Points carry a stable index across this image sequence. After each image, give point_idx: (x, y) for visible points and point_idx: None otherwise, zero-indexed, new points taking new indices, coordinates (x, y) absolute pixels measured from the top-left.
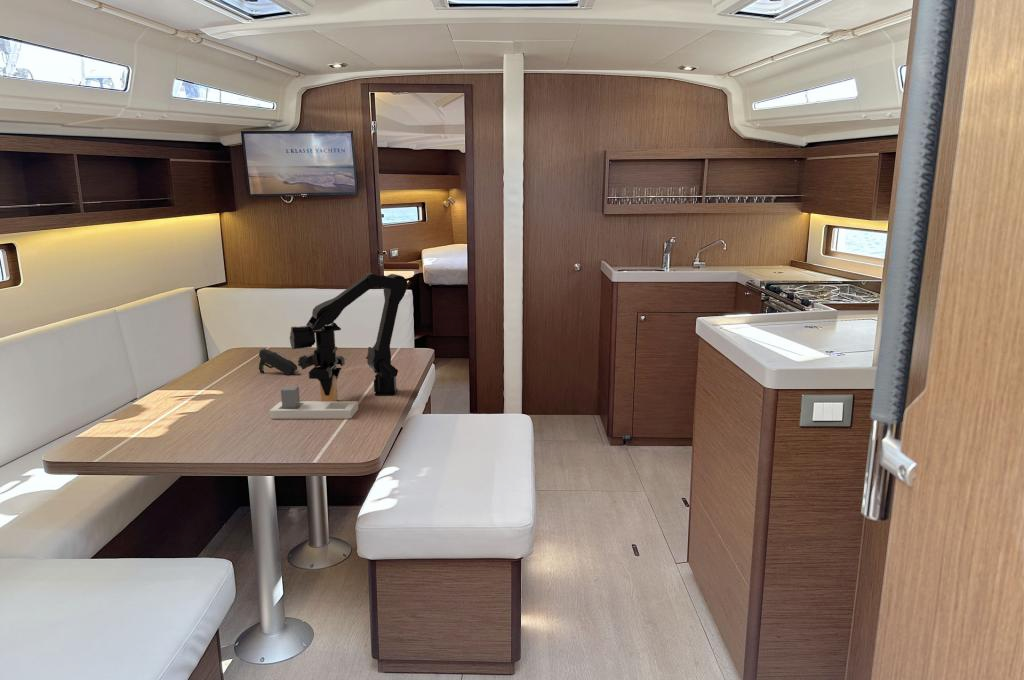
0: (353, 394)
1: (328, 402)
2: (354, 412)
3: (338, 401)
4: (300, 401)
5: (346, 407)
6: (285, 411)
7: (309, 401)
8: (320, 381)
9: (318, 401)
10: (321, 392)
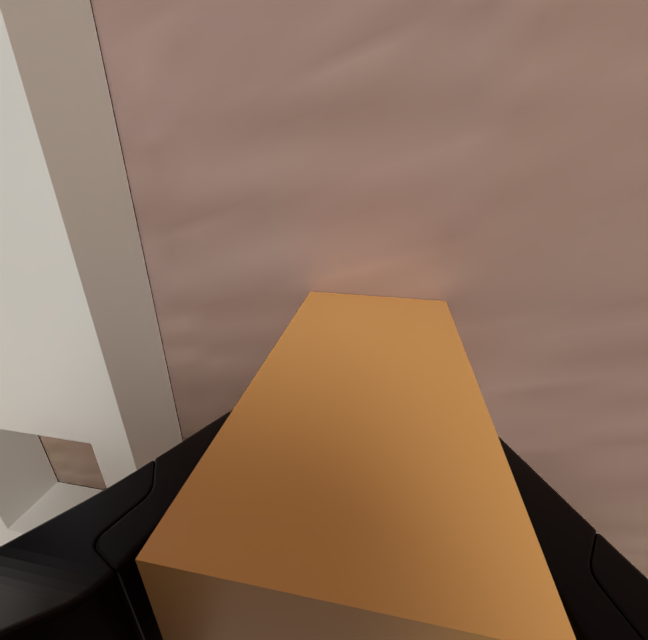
0: (601, 513)
1: (93, 428)
2: None
3: None
4: (26, 103)
5: None
6: None
7: (65, 236)
8: (11, 556)
9: (95, 337)
10: (271, 358)
